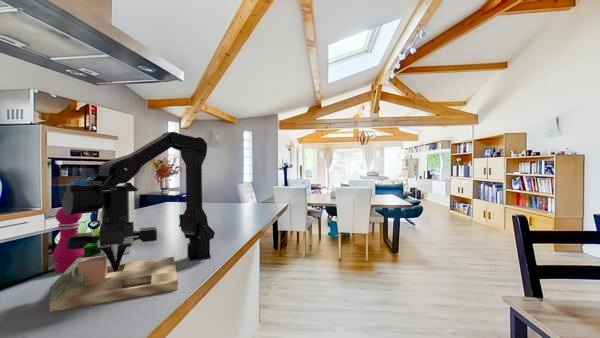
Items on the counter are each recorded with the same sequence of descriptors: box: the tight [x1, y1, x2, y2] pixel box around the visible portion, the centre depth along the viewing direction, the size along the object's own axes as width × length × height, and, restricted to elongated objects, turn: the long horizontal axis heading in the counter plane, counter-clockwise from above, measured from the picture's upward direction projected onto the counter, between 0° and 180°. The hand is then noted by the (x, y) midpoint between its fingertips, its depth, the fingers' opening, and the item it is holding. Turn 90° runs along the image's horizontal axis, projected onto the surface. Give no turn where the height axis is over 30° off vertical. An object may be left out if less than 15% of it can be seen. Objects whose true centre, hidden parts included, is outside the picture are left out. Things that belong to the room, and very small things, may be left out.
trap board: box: [49, 256, 179, 313], centre depth 72 cm, size 24×22×5 cm
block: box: [78, 255, 108, 284], centre depth 69 cm, size 5×5×5 cm
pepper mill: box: [52, 207, 85, 273], centre depth 83 cm, size 7×7×20 cm
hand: (115, 271), depth 71 cm, fingers closed
